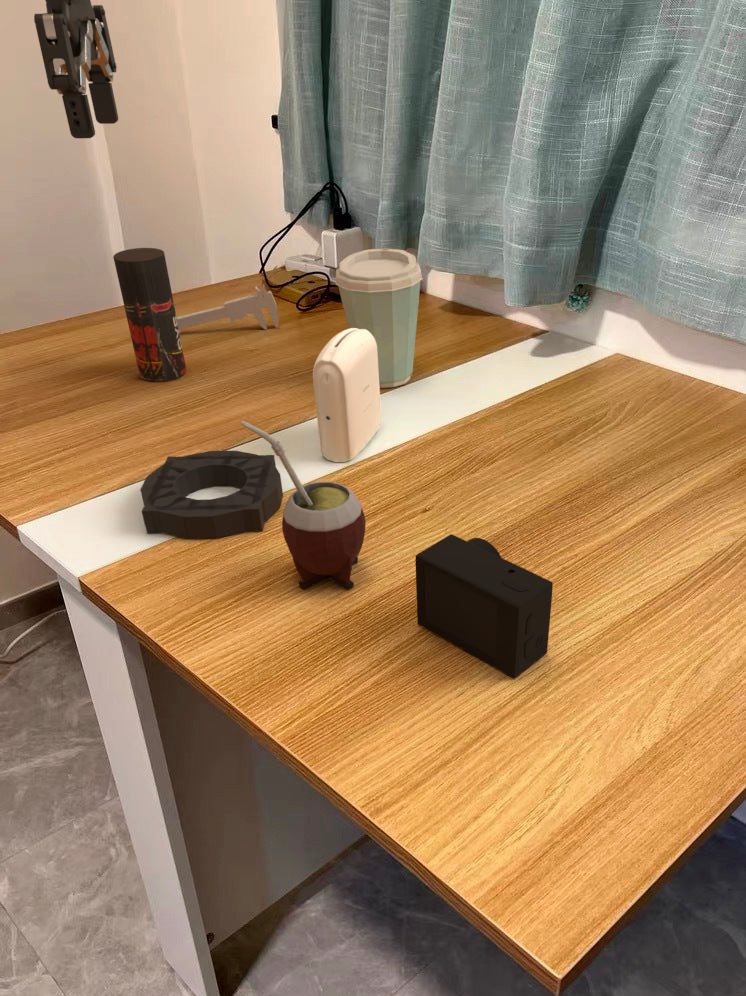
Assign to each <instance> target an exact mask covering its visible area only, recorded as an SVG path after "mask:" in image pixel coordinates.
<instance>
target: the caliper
mask: <svg viewBox="0 0 746 996" xmlns="http://www.w3.org/2000/svg"><path fill="white" fill-rule="evenodd" d="M254 289H255V293H256V294H249V295H246V296H243V297H239V298H234V299H230V300H228V301H224V305H219V306H216V307H212V308H209V309H208V308H207V309H204V310H199V311H196V312H192V313H188V314H184V315H180V316H176V318H177V323H178V328H179V330H182V329H185V328H189V327H193V326H198V325H202V324H204V323H209V322H213V321H218V320H221V319H225V318H229V321H230V322H235V321H237V320H243V319H244V318H246V317H247V316H248V315H251V314H252V315H253V317H254V318H255V319H256V321H257V323H259V325H260V326H261V328H262V329H263V330H265V331H267V330H268V326H267V323H266V319H265V317H264V314H263V312H262V309H264V308H267V310H268V311H269V314H270V317H271V320H272V321H273V324H274V327H275V328H277V327H279V325H280V324H279V323H280V322H279V314H278V307H277V302H276V300H275V298H274V295H273V293H272V291H271V290H269V291H267V288H266V285H265V283H263V284H262V291H261V289H260V288H259V287H258V286H257V285H256V286H254ZM256 295H257V296H256Z"/></svg>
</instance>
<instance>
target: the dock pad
mask: <svg viewBox="0 0 746 996" xmlns="http://www.w3.org/2000/svg"><path fill="white" fill-rule="evenodd" d="M275 459H276V458H275V455H274V454H257V453H251V452H246V451H241V450H208V451H203V452H198V453H193V454H187V455H183V456H181V455H180V456H174V455H173V456H172V455H171V456H167V457H166V459H165V461H164V464H162V465H160V466H159V467H157V468H156V469H154V470H153V471H152V472H151V473H149V474H148V475H146V477H145V479H144V482H143V484H142V485H141V487H140V494H141V499H142V502H143V507H142V509H141V515H142V519H143V522H144V527H145V531H146V534H164V535H168V536H173V537H178V538H181V539H186V540H188V539H189V540H202V539H204V540H205V539H207V540H209V539H221V538H224V537H225V538H226V537H229V536H234V535H239V534H243V533H246V532H247V533H248V532H263V530H264V526H265V523H266V522H267V521H269V520H270V519H271V518H272V516H274V515H275V514H276V513H277V512H278V511H279V510H280V508H281V505H282V501H283V497H284V493H283V485H282V479H281V473H280V472H279V470H278V469H277V466H276V460H275ZM227 486H228V487H232V488H237V489H239V490H237V491H235V492H233V493H230V494H228V495H226V496H221V497H217V498H216V497H215V498H212V499H211V498H210V499H196V498H190V497H187V496H188V495H190V494H192V493H195V492H197V491H199V490H201V489H206V488H211V487H227Z"/></svg>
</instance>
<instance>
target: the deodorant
mask: <svg viewBox="0 0 746 996" xmlns="http://www.w3.org/2000/svg"><path fill="white" fill-rule="evenodd" d="M112 257H113V262H114V266H115V272H116V275H117V280H118V284H119V285H118V286H119V289H120V293H121V299H122V302H123V307H124V312H125V316H126V320H127V324H128V329H129V335H130V338H131V343H132V348H133V352H134V356H135V360H136V365H137V369H138V374H139V375H138V376H139V377H140V379H142V380H143V381H145V382H151V383H163V382H169V381H174V380H177V379H179V378H182V377H184V375H186V373H187V366H186V361H185V360H186V359H185V355H184V350H183V344H182V339H181V334H180V329H179V328H178V323H177V318H176V317H177V313H176V307H175V303H174V296H173V292H172V286H171V281H170V276H169V275H170V274H169V270H168V265H167V261H166V260H167V259H166V254H165V251H164V250H163V249H161V248H156V247H155V248H154V247H137V248H136V247H135V248H129V249H125V250H120V251H118V252H116V253H115V254H113V256H112Z"/></svg>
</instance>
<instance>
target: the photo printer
mask: <svg viewBox="0 0 746 996" xmlns="http://www.w3.org/2000/svg"><path fill="white" fill-rule="evenodd" d="M312 381H313V391H314V401H315V410H316V421H317V430H318V439H319V440H318V441H319V449H320V450H319V451H320V454H321V456H323V457H324V458H325V459H326V460H328V461H330V462H335V463H346V462H348V461H351V460H353V459H354V458H355V457H356V456H358V455H359V454H360V452H361V451H362V450H363V449H364V448H365V447H366V446H367V444H368V443H369V442H370V441H371V439H372V438H374V436H375V435H376V433H377V432H378V431H379V429H380V427H381V424H382V409H381V408H382V407H381V388H380V387H379V370H378V353H377V344H376V341H375V339H374V337H373V336H372V334H371V333H370V332H369V331H367V330H366V329H357V328H350V329H349V328H347V329H344V330H342V331H340V332H339V333H337V334H335V335H334V336H333V337H332V338H331V339H329V341H328V342H327V343H326V344H325V345H324V347H323V348H322V349H321V351H320V352H319V354H318V356H317V357H316V360H315V362H314V365H313V369H312Z"/></svg>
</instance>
